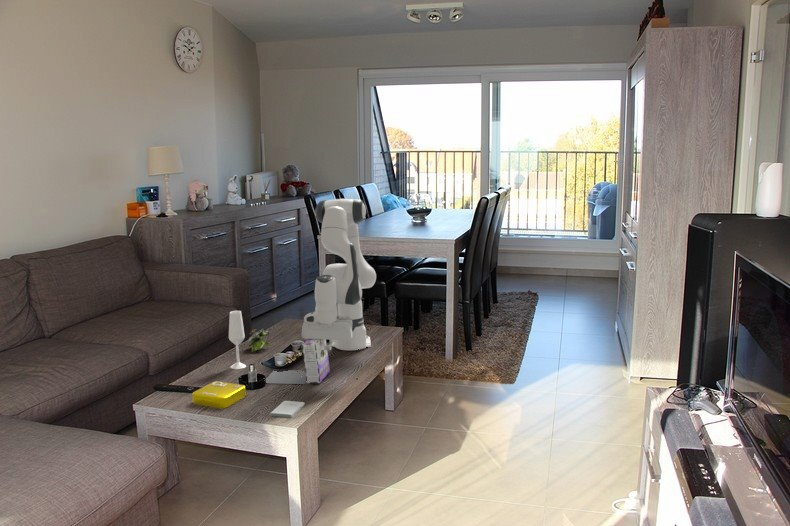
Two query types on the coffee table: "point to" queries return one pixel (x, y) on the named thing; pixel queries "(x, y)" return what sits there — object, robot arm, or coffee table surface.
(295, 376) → the mat
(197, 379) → the coffee table surface
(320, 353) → the candy box
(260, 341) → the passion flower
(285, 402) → the external hard drive
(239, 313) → the champagne flute
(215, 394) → the element tile
